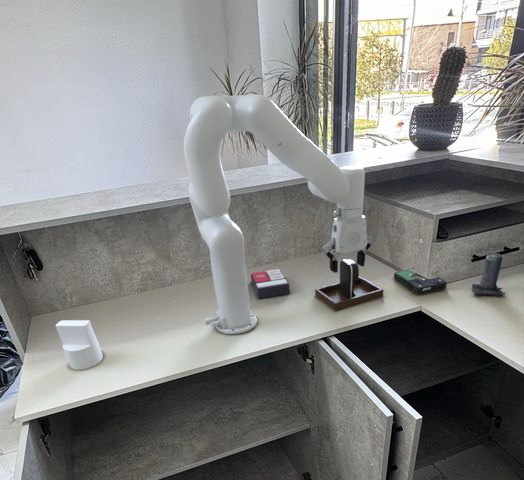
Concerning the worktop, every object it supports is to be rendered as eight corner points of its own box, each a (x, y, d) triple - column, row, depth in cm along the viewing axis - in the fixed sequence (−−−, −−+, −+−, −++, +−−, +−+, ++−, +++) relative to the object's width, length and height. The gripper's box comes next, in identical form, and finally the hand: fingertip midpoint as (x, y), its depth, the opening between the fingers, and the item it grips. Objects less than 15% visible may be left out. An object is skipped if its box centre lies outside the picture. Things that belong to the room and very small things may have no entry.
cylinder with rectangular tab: (108, 351, 126) (95, 315, 119) (93, 369, 118) (79, 331, 112) (80, 351, 127) (66, 315, 121) (63, 369, 120) (48, 331, 113)
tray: (335, 311, 134) (335, 303, 132) (315, 296, 144) (315, 289, 142) (383, 296, 139) (383, 289, 137) (360, 283, 149) (360, 276, 147)
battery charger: (359, 297, 139) (360, 263, 132) (348, 300, 138) (349, 266, 132) (349, 289, 144) (350, 256, 138) (339, 291, 144) (339, 258, 137)
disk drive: (446, 289, 139) (419, 273, 151) (447, 281, 138) (420, 265, 150) (418, 296, 137) (392, 278, 149) (419, 288, 136) (393, 271, 148)
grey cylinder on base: (495, 286, 138) (502, 249, 132) (505, 296, 132) (514, 258, 125) (465, 288, 139) (471, 252, 132) (475, 298, 132) (482, 261, 126)
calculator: (280, 267, 157) (289, 281, 144) (281, 278, 160) (290, 293, 147) (250, 272, 156) (256, 286, 143) (251, 283, 159) (258, 298, 146)
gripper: (330, 220, 121) (329, 278, 130) (382, 210, 126) (377, 266, 135) (317, 214, 127) (316, 270, 136) (366, 205, 132) (363, 259, 141)
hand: (347, 268), depth 136 cm, fingers open, 9 cm apart
